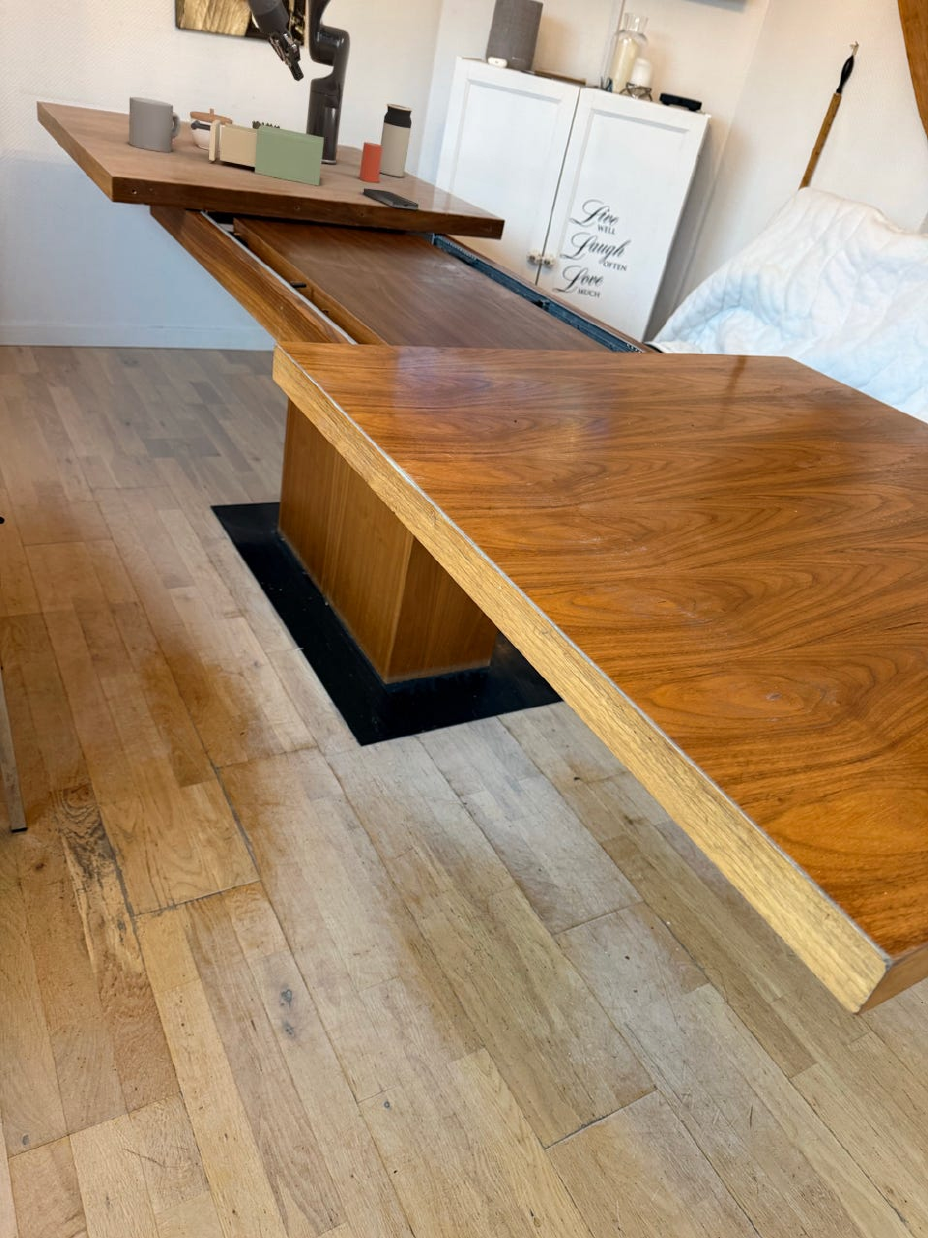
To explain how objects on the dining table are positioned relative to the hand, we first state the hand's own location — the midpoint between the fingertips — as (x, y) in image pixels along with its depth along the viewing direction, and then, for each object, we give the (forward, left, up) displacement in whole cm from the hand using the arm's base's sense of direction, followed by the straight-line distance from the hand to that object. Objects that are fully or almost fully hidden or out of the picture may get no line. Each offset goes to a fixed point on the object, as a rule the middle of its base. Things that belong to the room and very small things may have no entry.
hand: (299, 78), depth 226 cm
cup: (-21, -3, -21) cm, 30 cm away
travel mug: (-26, +36, -21) cm, 49 cm away
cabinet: (+8, -3, -21) cm, 23 cm away
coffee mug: (-4, -33, -21) cm, 39 cm away
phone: (+24, +19, -21) cm, 37 cm away
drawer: (+4, -16, -20) cm, 26 cm away
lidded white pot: (-18, -18, -21) cm, 33 cm away
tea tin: (-7, +23, -21) cm, 32 cm away
